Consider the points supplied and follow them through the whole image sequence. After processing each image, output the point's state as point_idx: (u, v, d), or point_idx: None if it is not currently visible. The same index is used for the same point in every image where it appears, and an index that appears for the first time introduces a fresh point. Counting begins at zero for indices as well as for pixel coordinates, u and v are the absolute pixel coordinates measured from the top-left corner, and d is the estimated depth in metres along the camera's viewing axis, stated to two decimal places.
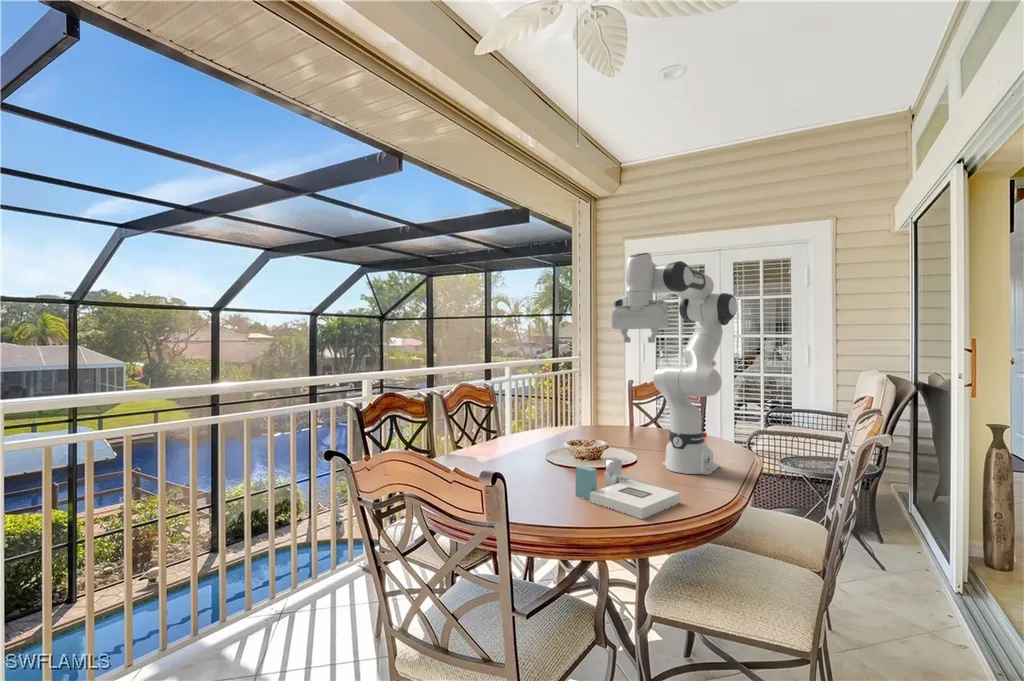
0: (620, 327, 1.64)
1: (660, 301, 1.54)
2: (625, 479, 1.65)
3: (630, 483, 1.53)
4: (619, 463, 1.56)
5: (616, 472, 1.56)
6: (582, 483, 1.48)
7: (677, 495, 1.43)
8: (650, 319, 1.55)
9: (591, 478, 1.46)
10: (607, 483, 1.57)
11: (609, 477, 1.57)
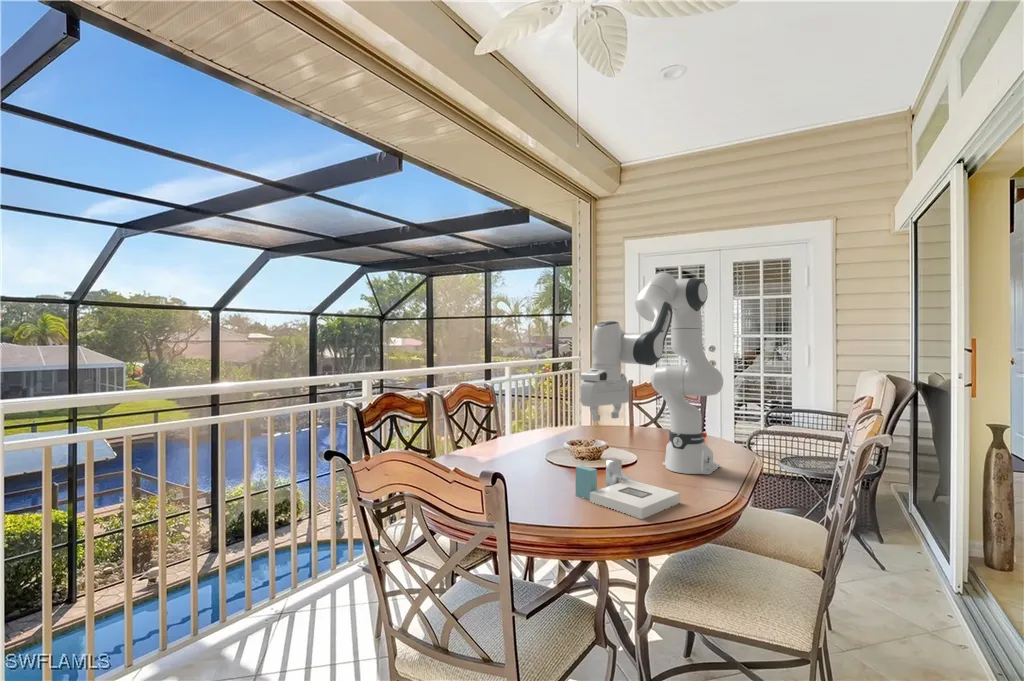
0: (598, 404, 1.41)
1: (623, 375, 1.52)
2: (625, 479, 1.65)
3: (630, 483, 1.53)
4: (619, 463, 1.56)
5: (616, 472, 1.56)
6: (582, 483, 1.48)
7: (677, 495, 1.43)
8: (621, 393, 1.49)
9: (591, 478, 1.46)
10: (607, 483, 1.57)
11: (609, 477, 1.57)
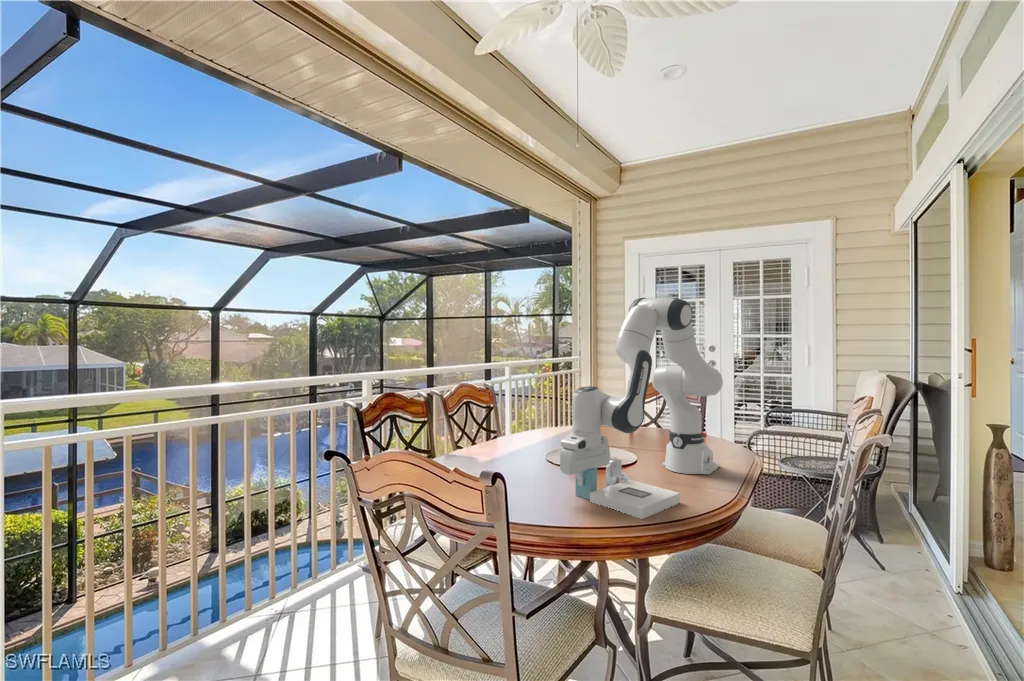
0: (577, 471, 1.44)
1: (604, 437, 1.54)
2: (626, 480, 1.64)
3: (630, 483, 1.53)
4: (619, 463, 1.56)
5: (616, 472, 1.56)
6: None
7: (677, 495, 1.43)
8: (601, 457, 1.51)
9: (591, 478, 1.46)
10: (607, 483, 1.57)
11: (609, 477, 1.57)
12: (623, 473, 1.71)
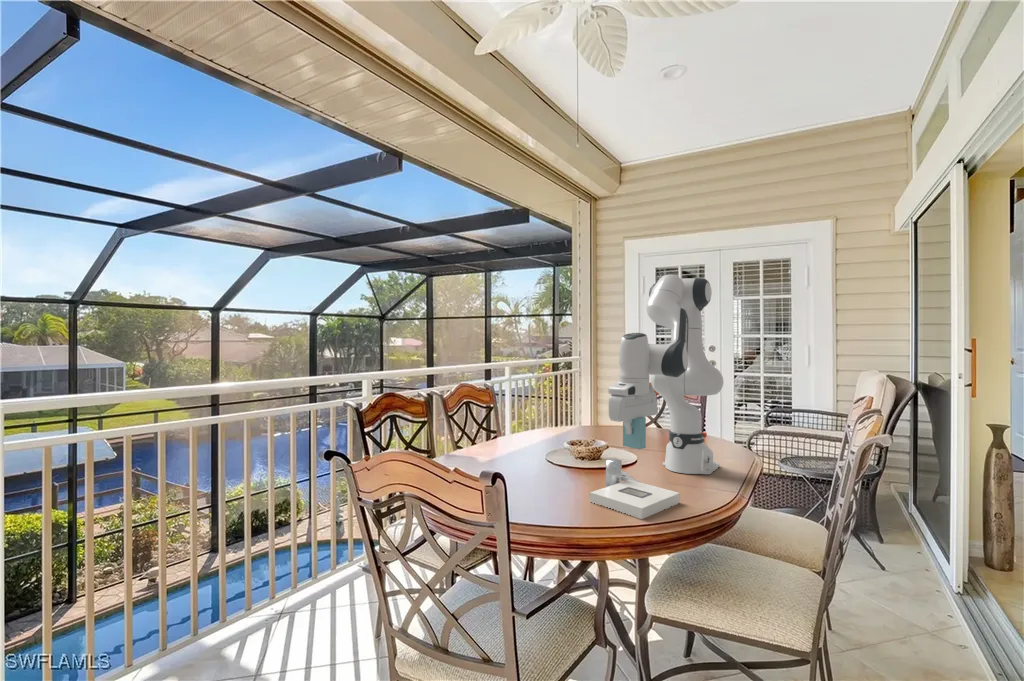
0: (626, 419, 1.39)
1: (651, 387, 1.49)
2: None
3: (630, 483, 1.53)
4: (619, 463, 1.56)
5: (616, 472, 1.56)
6: None
7: (677, 495, 1.43)
8: (649, 406, 1.46)
9: (640, 427, 1.41)
10: (607, 483, 1.57)
11: (609, 477, 1.57)
12: (625, 473, 1.71)
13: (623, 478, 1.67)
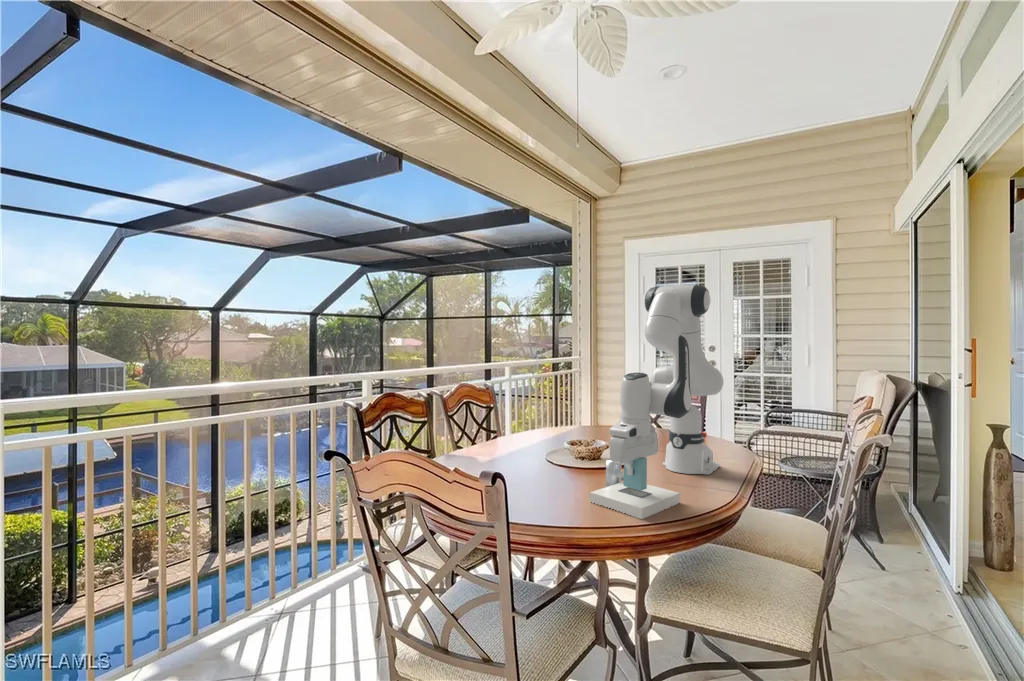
0: (627, 460, 1.38)
1: (652, 426, 1.49)
2: None
3: None
4: None
5: (616, 472, 1.56)
6: None
7: (677, 495, 1.43)
8: (650, 446, 1.46)
9: (642, 468, 1.41)
10: (607, 483, 1.57)
11: (609, 477, 1.57)
12: None
13: None
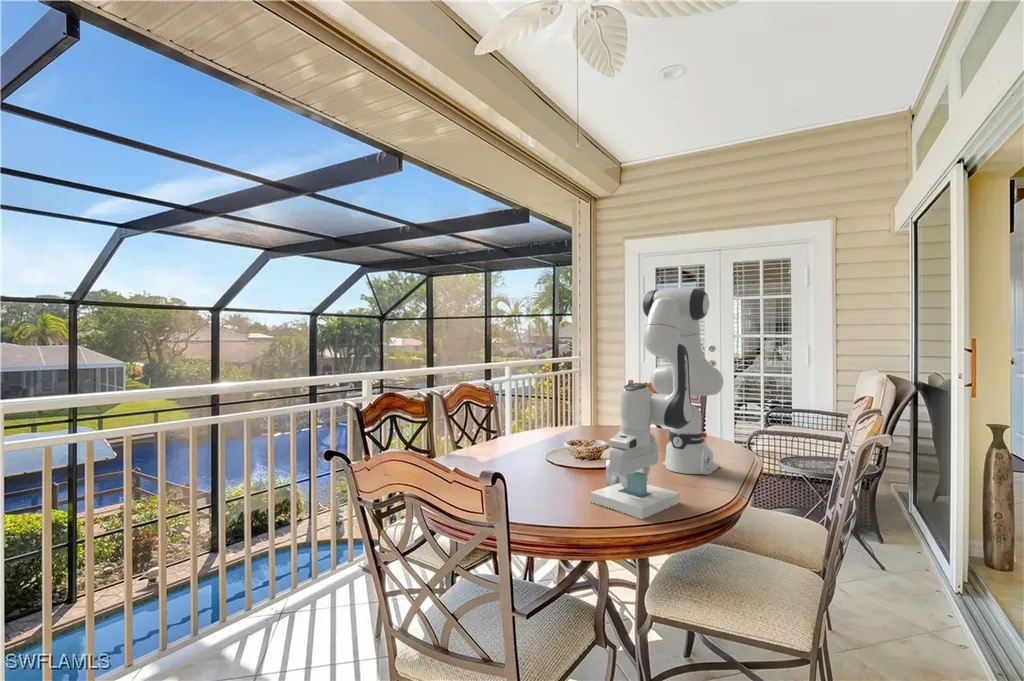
0: (627, 471, 1.38)
1: (651, 436, 1.49)
2: None
3: None
4: None
5: None
6: (631, 488, 1.43)
7: (677, 495, 1.43)
8: (650, 456, 1.46)
9: (642, 483, 1.41)
10: (607, 483, 1.57)
11: (609, 477, 1.57)
12: None
13: None
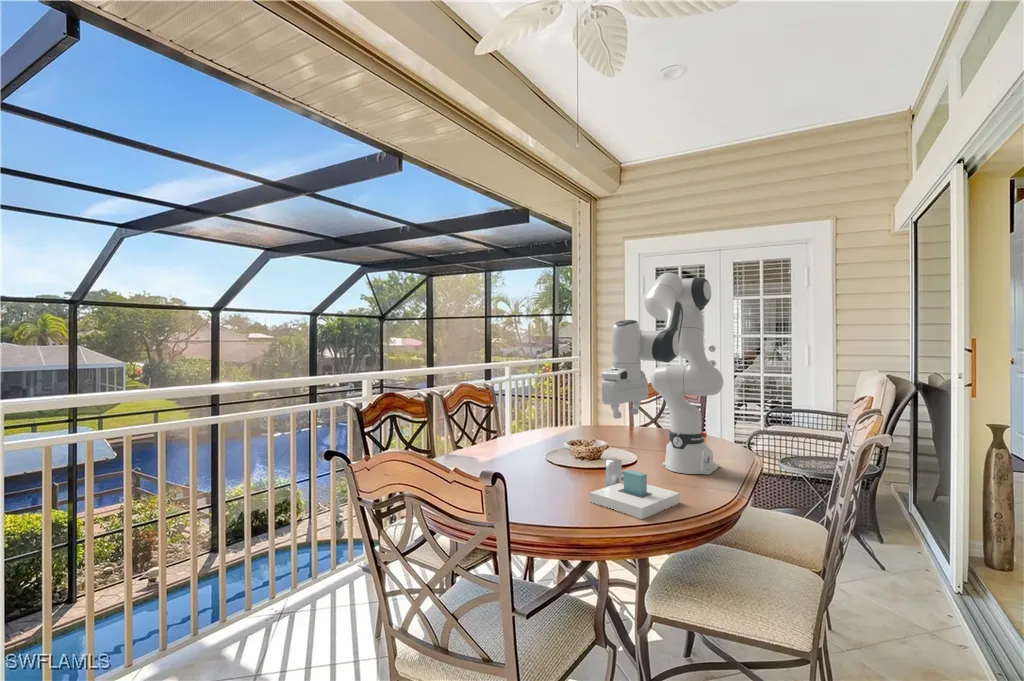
0: (619, 402, 1.45)
1: (642, 372, 1.55)
2: None
3: None
4: (619, 463, 1.56)
5: (616, 472, 1.56)
6: (631, 488, 1.43)
7: (677, 495, 1.43)
8: (640, 390, 1.52)
9: (642, 483, 1.41)
10: (607, 483, 1.57)
11: (609, 477, 1.57)
12: None
13: None
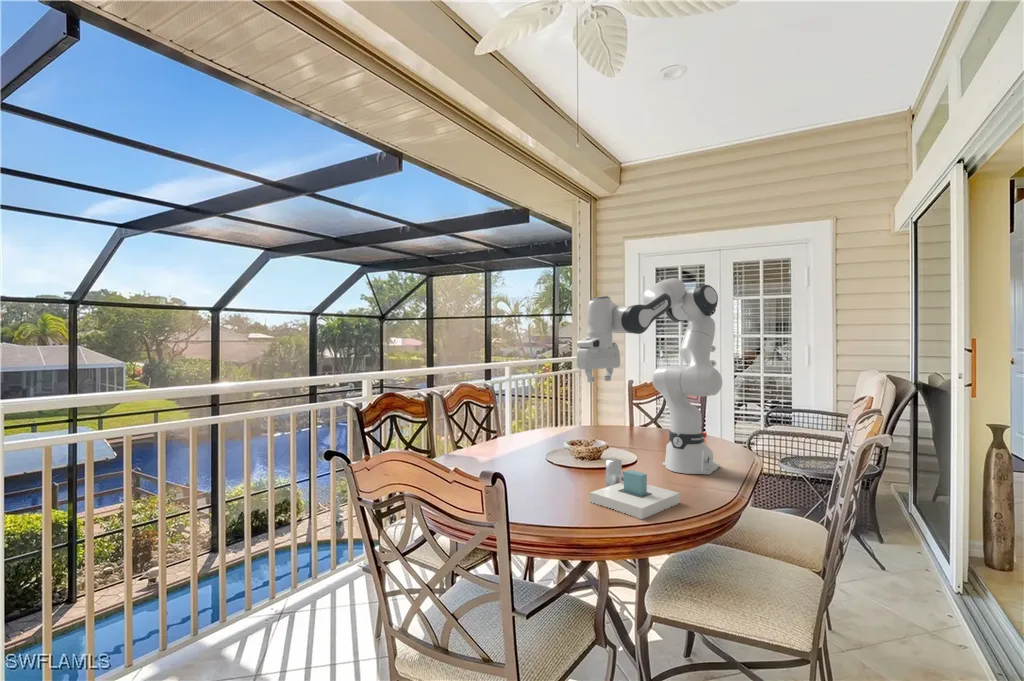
0: (592, 367, 1.63)
1: (615, 343, 1.74)
2: None
3: None
4: (619, 463, 1.56)
5: (616, 472, 1.56)
6: (631, 488, 1.43)
7: (677, 495, 1.43)
8: (613, 359, 1.71)
9: (642, 483, 1.41)
10: (607, 483, 1.57)
11: (609, 477, 1.57)
12: None
13: None
